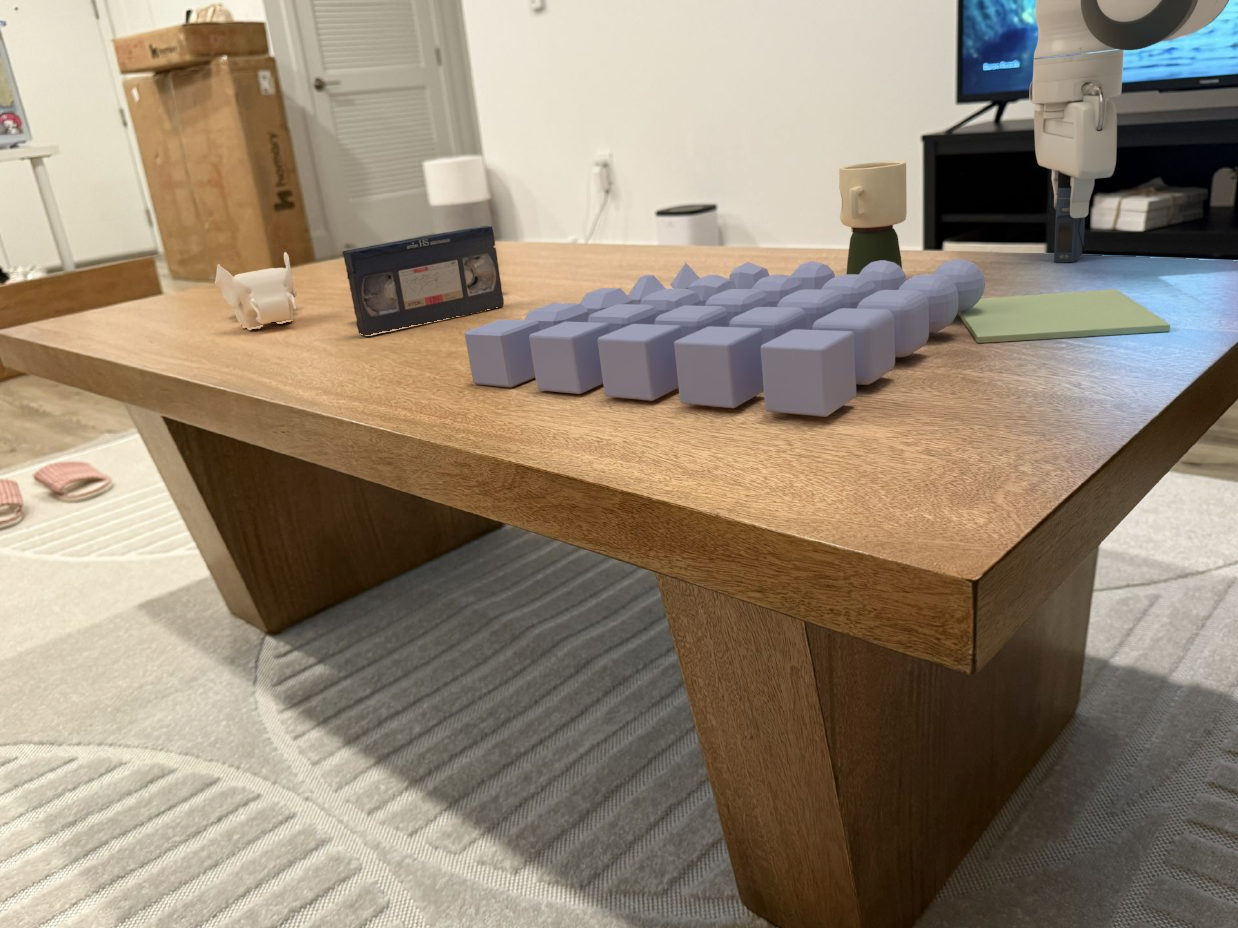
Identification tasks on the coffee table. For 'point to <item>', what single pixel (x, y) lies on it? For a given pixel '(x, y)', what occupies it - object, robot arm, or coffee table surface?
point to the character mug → (873, 211)
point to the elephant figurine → (259, 294)
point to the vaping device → (1067, 225)
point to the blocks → (730, 335)
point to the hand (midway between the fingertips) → (1070, 213)
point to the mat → (1059, 316)
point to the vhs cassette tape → (424, 279)
